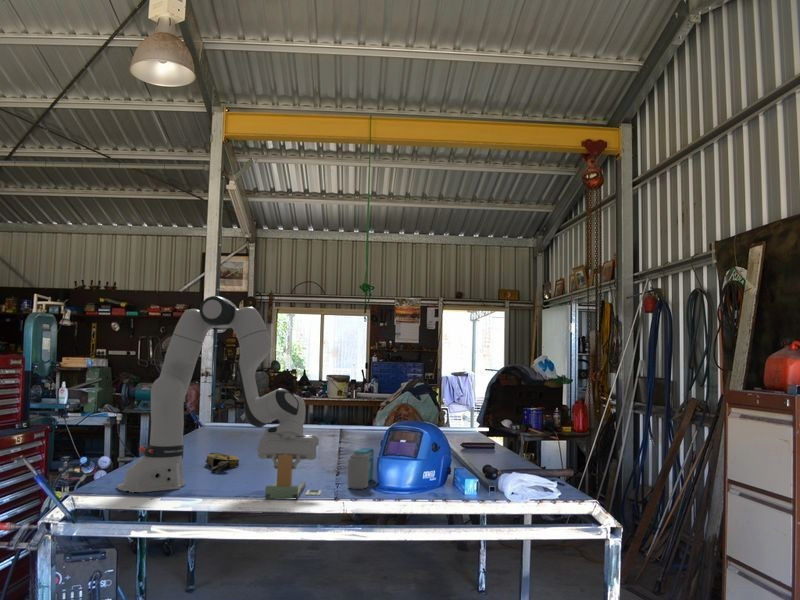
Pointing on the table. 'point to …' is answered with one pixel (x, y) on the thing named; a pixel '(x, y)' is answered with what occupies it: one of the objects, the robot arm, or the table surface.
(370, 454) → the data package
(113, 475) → the table surface
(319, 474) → the table surface
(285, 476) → the orange brown box
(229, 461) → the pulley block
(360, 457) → the can
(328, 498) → the table surface
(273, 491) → the switch channel
